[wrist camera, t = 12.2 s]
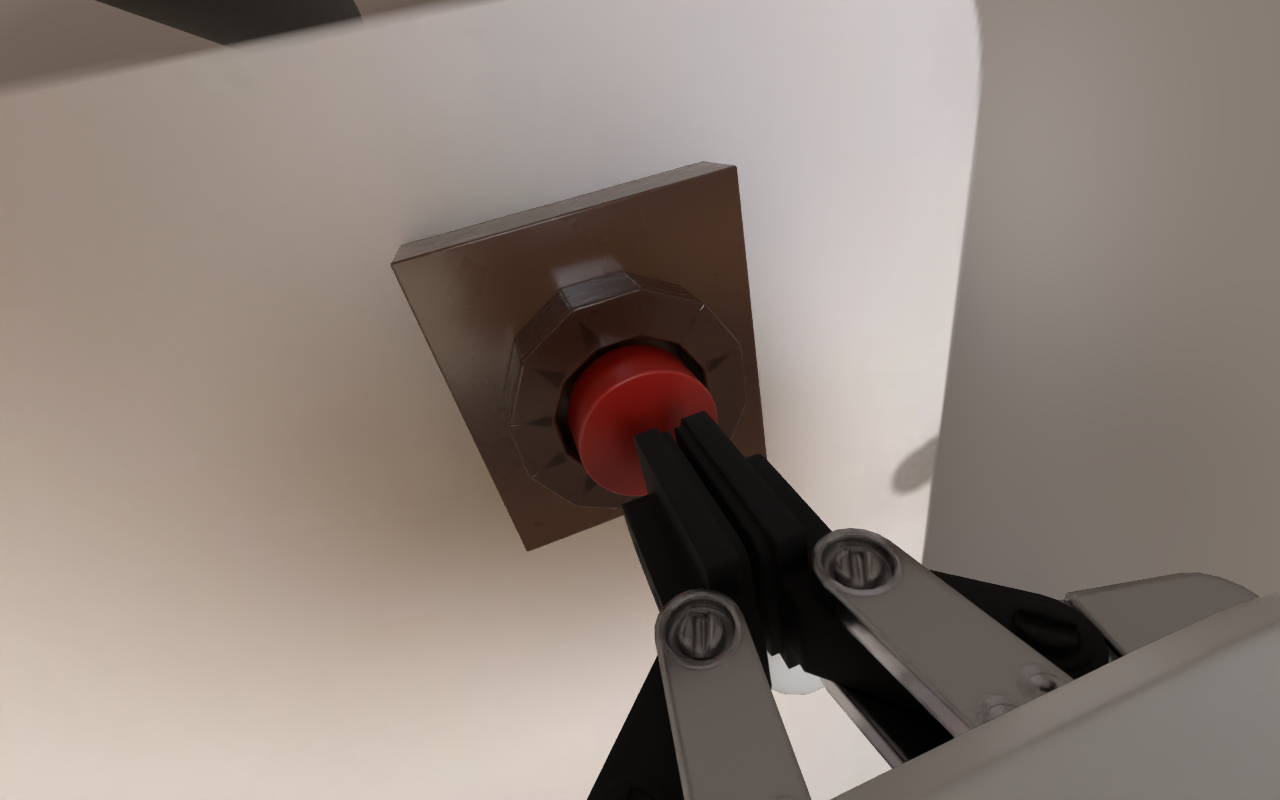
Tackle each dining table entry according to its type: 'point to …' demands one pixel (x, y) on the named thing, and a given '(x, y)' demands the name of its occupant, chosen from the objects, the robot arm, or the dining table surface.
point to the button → (630, 410)
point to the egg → (791, 678)
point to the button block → (585, 325)
